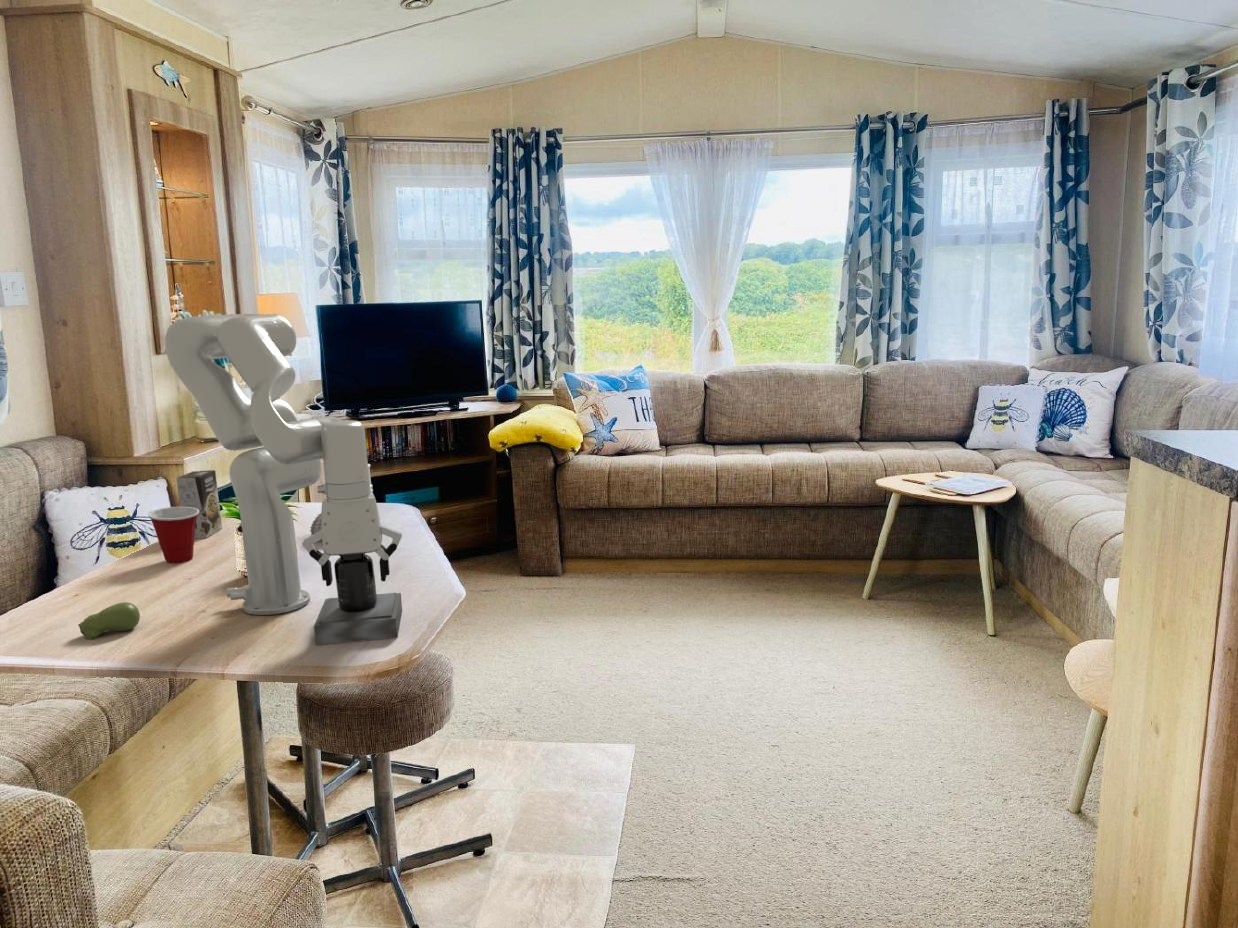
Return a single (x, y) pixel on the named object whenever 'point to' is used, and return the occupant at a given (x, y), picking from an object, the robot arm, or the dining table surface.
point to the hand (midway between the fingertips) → (356, 581)
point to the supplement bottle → (355, 582)
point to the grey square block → (359, 621)
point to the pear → (111, 620)
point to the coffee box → (201, 500)
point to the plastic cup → (175, 532)
